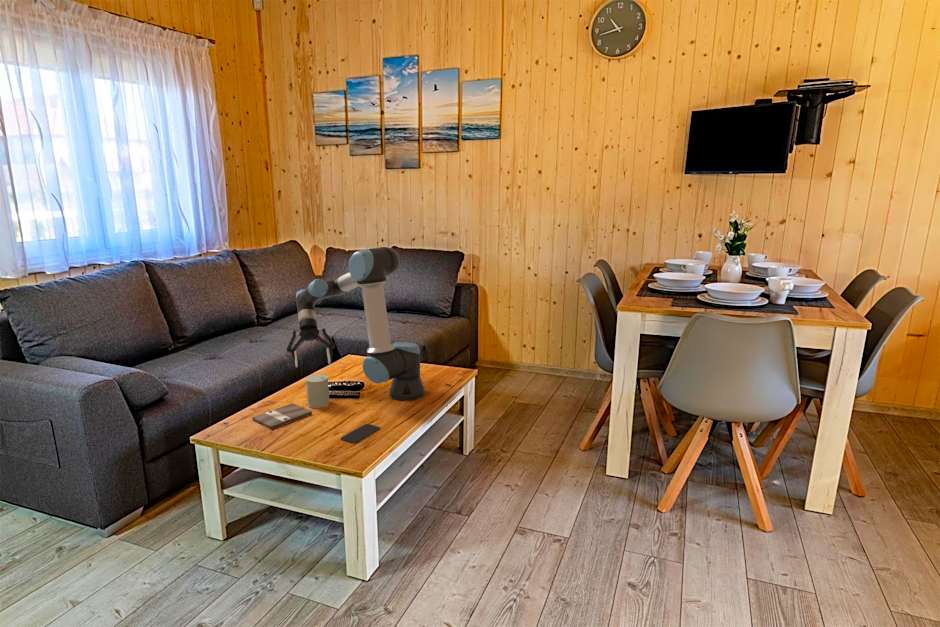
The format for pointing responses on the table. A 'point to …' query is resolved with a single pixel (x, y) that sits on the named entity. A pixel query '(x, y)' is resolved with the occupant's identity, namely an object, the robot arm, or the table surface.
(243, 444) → the table surface
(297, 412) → the grey flat block
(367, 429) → the phone
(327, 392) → the can
